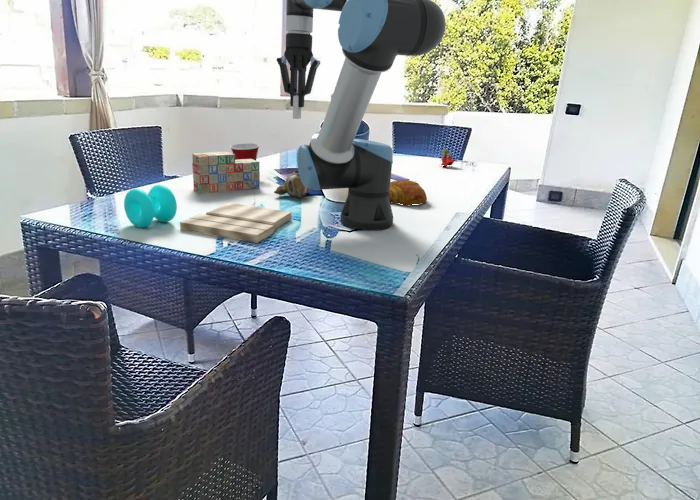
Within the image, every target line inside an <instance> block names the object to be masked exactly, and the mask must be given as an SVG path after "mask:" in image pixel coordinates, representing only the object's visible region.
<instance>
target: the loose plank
mask: <svg viewBox="0 0 700 500" xmlns="http://www.w3.org/2000/svg"><path fill="white" fill-rule="evenodd" d="M205 215H211V216H217V217H223V218H229V219H236V220H242V221H248V222H254V223H261V224H267V225H273V226H274V229H275V230H276V229H278V228H279V227H281V226H282V225H284V224H286V223H287V222H288V221H289V222H290V221H291V220H292V211H286V210H280V209H274V208H273V209H272V208H268V207H267V208H266V207H261V206H255V205H254V206H253V205H248V204H240V203H233V202H227V203H225V204H222V205H221V206H218V207H216V208H214V209H211V210H209V211H206V213H205Z"/></svg>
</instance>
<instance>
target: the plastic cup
mask: <svg viewBox="0 0 700 500" xmlns="http://www.w3.org/2000/svg"><path fill="white" fill-rule="evenodd" d="M229 148H230V150H231V152H232V154H235V160H239V159H253V160H256V161H257V157H258V152H259V148H260V144H258V143H251V142H248V143H246V142H244V143H235V144H231V145H229Z"/></svg>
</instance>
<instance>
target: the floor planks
mask: <svg viewBox="0 0 700 500" xmlns="http://www.w3.org/2000/svg"><path fill="white" fill-rule="evenodd" d="M179 228H180V231H181V230H182V231H185V232H186V231H187V232H192V233H198V234H204V235H211V236H216V237H222V238H226V239H227V238H228V239H233V240H239V241H245V242H252V243H257V244H258V243H260V242H262V241H263V240H265V239H267V238H269V236H272V235H273V234H275V232H276V229H274V226H273V225H267V224H261V223H254V222H248V221H242V220H236V219H229V218H223V217H217V216H211V215H206V214H203V213H198V214H196V215H194V216H191V217H188V218H186V219H183V220H182V221H180V222H179Z"/></svg>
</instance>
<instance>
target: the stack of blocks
mask: <svg viewBox="0 0 700 500" xmlns="http://www.w3.org/2000/svg"><path fill="white" fill-rule="evenodd" d="M191 155H192V156H191V157H192V164H191V165H192V178H193V181H192V182H193V190H194V191H195V192H198V193H199V194H209V193H221V192H230V191H240V190H241V191H242V190H253V189H260V179H261V178H260V177H261V176H260V161H258V160H257V159H256V160H253V159H239V160H235V154H233V152H232V153H231V152H230V151H210V152H198V153H197V152H194V153H192V154H191Z"/></svg>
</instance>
